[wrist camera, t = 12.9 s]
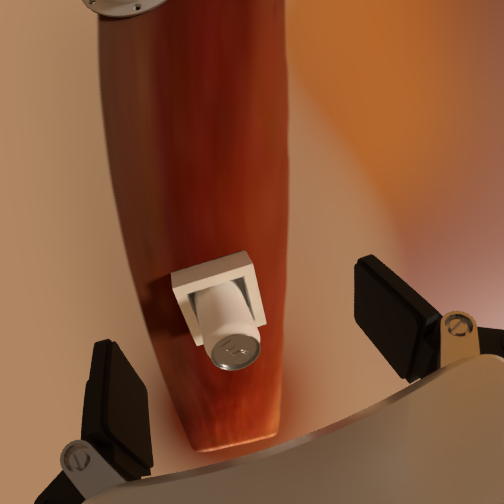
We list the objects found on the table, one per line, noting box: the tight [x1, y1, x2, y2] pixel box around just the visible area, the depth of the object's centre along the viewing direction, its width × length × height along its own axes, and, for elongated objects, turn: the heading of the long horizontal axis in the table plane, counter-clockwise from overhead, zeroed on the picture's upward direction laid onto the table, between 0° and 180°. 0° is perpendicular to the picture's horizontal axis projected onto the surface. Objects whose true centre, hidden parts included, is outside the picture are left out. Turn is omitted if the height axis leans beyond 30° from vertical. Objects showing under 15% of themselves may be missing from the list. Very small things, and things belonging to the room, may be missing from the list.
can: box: [194, 280, 261, 370], centre depth 39 cm, size 6×6×12 cm
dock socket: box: [171, 250, 266, 346], centre depth 43 cm, size 10×10×4 cm
